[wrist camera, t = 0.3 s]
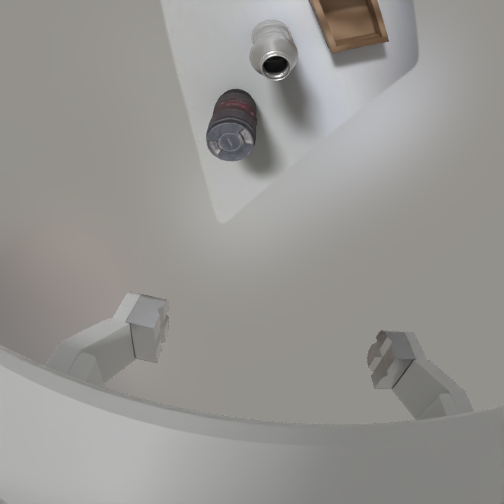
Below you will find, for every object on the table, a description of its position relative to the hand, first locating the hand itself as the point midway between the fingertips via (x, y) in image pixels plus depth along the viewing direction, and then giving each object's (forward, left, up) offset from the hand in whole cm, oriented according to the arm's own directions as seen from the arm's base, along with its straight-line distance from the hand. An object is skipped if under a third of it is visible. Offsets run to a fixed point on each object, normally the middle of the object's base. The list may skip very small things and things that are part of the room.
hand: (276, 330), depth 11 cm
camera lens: (+13, -12, -52) cm, 55 cm away
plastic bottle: (+2, 0, -52) cm, 52 cm away
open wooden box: (+2, +14, -52) cm, 54 cm away
